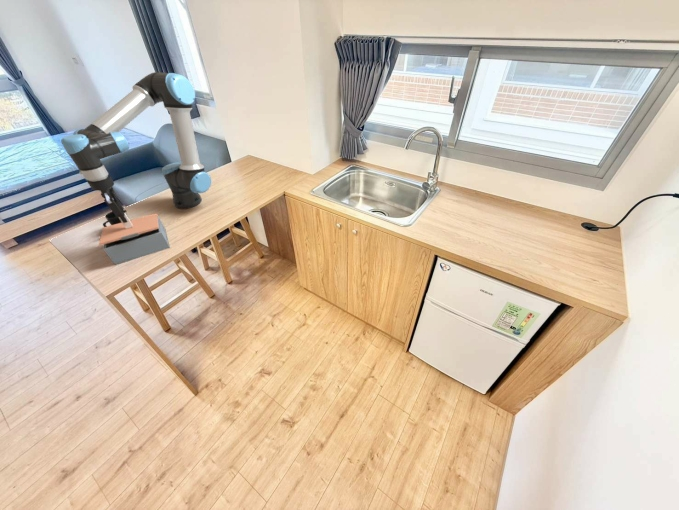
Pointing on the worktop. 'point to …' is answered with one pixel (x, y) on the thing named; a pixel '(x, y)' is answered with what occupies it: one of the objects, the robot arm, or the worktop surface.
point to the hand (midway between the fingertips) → (129, 226)
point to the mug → (112, 219)
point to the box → (137, 245)
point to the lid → (129, 229)
